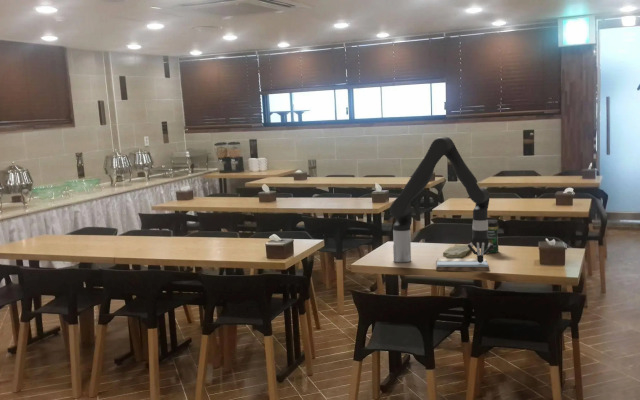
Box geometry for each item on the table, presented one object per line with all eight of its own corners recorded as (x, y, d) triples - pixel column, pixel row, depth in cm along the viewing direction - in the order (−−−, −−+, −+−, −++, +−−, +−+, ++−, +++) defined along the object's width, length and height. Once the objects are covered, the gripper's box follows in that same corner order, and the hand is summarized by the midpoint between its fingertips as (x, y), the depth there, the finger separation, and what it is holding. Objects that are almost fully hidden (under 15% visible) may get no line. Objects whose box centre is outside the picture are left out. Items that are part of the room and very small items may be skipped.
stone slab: (440, 252, 339) (454, 240, 365) (440, 260, 339) (455, 247, 365) (462, 254, 333) (475, 241, 359) (462, 261, 333) (475, 248, 360)
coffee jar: (481, 253, 345) (480, 220, 343) (480, 250, 353) (480, 218, 351) (499, 253, 343) (498, 220, 341) (498, 250, 351) (498, 218, 348)
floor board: (436, 270, 311) (436, 265, 311) (436, 263, 326) (435, 258, 326) (489, 270, 306) (489, 265, 306) (486, 263, 321) (486, 258, 321)
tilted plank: (437, 266, 311) (437, 264, 311) (437, 263, 319) (437, 261, 319) (488, 267, 307) (488, 264, 307) (486, 263, 314) (486, 261, 314)
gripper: (467, 230, 304) (467, 264, 306) (494, 229, 302) (494, 264, 304) (466, 227, 311) (466, 260, 314) (493, 227, 309) (493, 260, 311)
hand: (480, 262), depth 309 cm, fingers closed
